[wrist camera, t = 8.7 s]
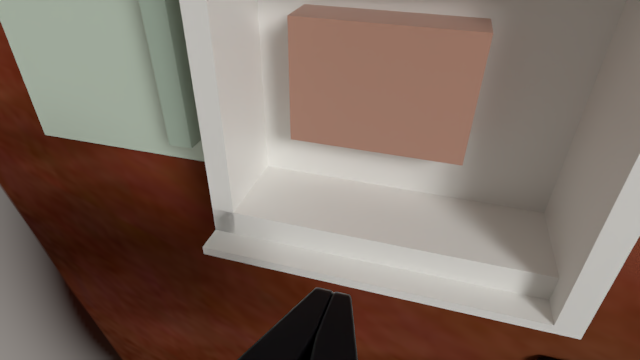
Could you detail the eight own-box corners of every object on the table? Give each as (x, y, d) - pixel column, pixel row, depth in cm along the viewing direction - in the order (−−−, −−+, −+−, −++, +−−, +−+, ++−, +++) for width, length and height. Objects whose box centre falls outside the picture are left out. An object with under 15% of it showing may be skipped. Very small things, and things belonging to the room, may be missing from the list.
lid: (255, 161, 24) (229, 193, 21) (54, 128, 27) (11, 153, 24) (230, -112, 17) (188, -113, 14) (-36, -114, 20) (-110, -115, 17)
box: (553, 231, 20) (580, 339, 15) (259, 178, 24) (203, 253, 19) (705, -136, 13) (861, -156, 8) (234, -137, 16) (128, -151, 11)
